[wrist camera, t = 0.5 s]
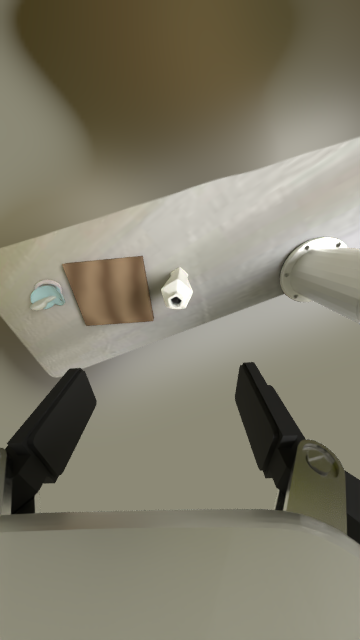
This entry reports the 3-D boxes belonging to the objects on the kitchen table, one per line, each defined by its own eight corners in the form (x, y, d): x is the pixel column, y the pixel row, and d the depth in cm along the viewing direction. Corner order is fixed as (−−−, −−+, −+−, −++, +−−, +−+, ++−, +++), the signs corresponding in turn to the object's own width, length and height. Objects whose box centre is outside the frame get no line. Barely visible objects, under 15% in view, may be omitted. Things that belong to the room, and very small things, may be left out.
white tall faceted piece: (175, 291, 36) (171, 324, 23) (164, 274, 35) (152, 298, 21) (194, 281, 35) (200, 308, 22) (183, 262, 34) (182, 279, 20)
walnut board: (142, 255, 33) (140, 256, 32) (153, 318, 39) (152, 321, 38) (66, 263, 34) (61, 264, 33) (89, 322, 40) (86, 325, 39)
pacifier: (30, 283, 37) (45, 307, 39) (2, 290, 31) (21, 318, 33) (59, 275, 36) (73, 301, 38) (35, 281, 30) (53, 311, 32)
